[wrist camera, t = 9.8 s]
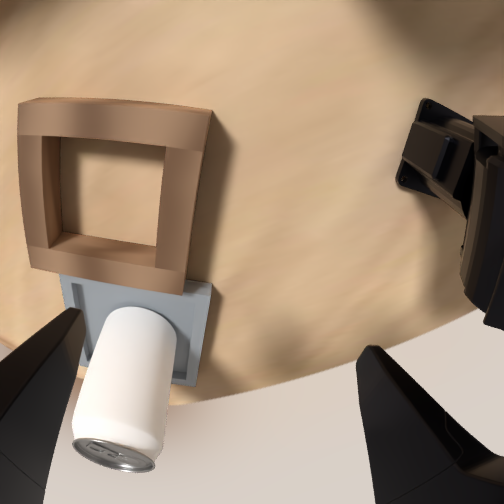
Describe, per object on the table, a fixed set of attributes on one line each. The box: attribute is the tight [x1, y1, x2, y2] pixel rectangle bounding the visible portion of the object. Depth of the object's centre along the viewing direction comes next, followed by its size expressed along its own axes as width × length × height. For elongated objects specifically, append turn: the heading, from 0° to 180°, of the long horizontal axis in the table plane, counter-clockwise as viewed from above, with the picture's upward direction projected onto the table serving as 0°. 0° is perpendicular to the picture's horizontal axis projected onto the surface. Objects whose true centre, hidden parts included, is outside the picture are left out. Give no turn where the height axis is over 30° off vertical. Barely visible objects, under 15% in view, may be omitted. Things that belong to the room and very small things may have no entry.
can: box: [72, 306, 177, 473], centre depth 21 cm, size 6×6×12 cm
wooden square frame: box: [17, 98, 212, 296], centre depth 19 cm, size 12×12×2 cm
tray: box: [59, 274, 212, 387], centre depth 26 cm, size 12×12×2 cm
